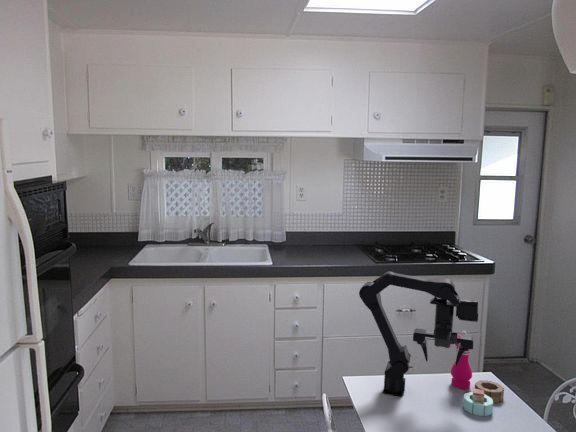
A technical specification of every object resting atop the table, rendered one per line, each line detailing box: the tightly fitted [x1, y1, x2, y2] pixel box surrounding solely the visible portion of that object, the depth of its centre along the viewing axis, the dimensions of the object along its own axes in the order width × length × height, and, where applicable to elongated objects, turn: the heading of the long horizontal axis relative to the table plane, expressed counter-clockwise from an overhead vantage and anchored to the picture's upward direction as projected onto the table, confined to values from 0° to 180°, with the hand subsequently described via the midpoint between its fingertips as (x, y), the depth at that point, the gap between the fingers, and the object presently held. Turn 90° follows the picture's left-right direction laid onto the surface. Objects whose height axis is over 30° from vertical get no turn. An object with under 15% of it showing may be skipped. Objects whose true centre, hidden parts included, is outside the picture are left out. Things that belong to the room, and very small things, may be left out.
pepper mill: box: [450, 330, 473, 390], centre depth 168 cm, size 7×7×20 cm
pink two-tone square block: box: [472, 387, 484, 403], centre depth 153 cm, size 3×3×6 cm
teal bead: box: [462, 391, 494, 417], centre depth 153 cm, size 9×9×4 cm
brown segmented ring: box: [474, 379, 505, 403], centre depth 162 cm, size 9×9×4 cm
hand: (441, 363), depth 157 cm, fingers open, 9 cm apart
